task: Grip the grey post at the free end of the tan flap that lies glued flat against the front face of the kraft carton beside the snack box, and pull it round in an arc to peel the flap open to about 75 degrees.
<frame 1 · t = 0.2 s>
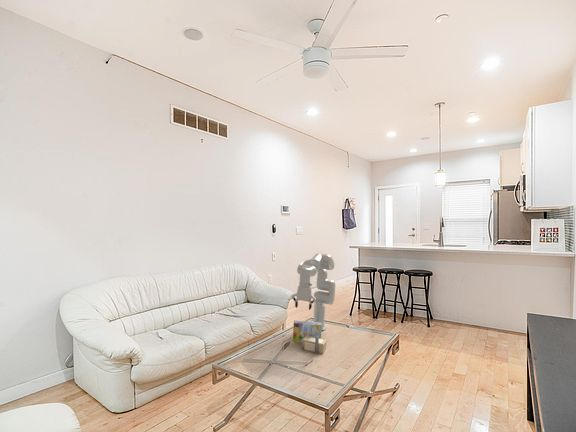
hand: (303, 308, 227), 31 cm above the table, fingers open, 9 cm apart
carton: (314, 348, 232), on the table
snack box: (306, 342, 242), on the table
flap: (310, 342, 227), point 6 cm above the table, hinge at 0.0°
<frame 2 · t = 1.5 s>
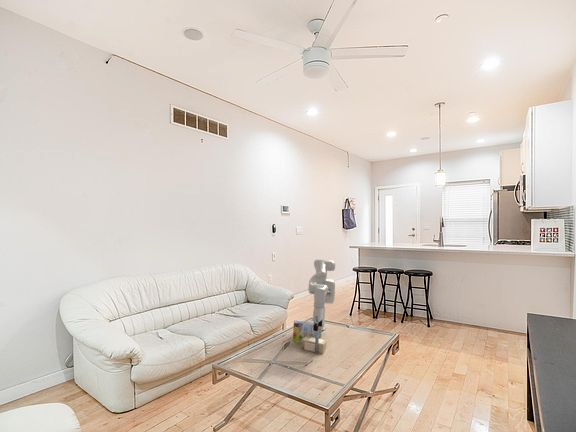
hand: (317, 328, 224), 18 cm above the table, fingers open, 9 cm apart
nothing on the table moved.
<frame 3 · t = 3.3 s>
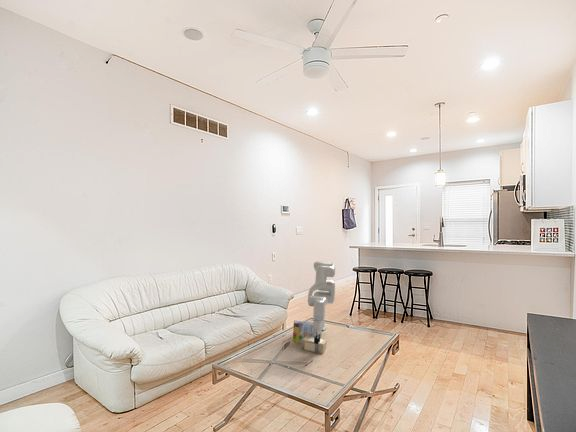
hand: (316, 342, 224), 8 cm above the table, fingers closed on flap, 2 cm apart
flap: (310, 342, 227), point 6 cm above the table, hinge at 0.0°, touching gripper
everything else where it was.
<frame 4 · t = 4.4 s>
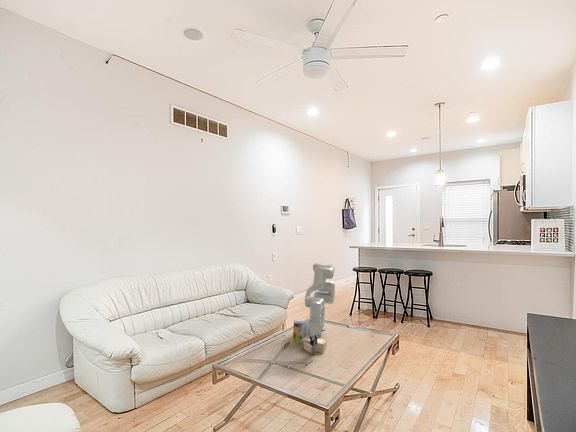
hand: (313, 344, 221), 8 cm above the table, fingers closed on flap, 2 cm apart
flap: (308, 343, 225), point 6 cm above the table, hinge at 22.3°, touching gripper
everything else where it was.
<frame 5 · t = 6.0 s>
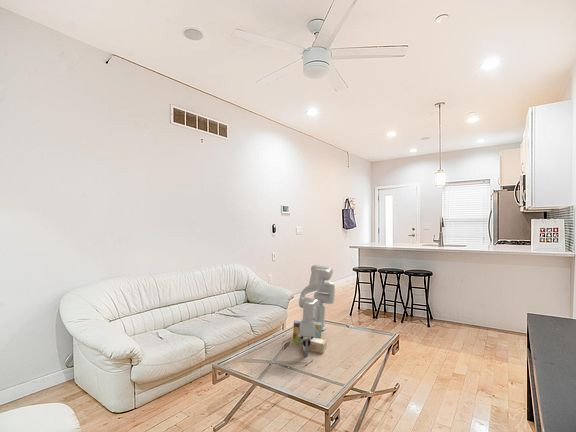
hand: (306, 345, 219), 8 cm above the table, fingers closed on flap, 2 cm apart
flap: (304, 344, 224), point 6 cm above the table, hinge at 53.2°, touching gripper
everything else where it was.
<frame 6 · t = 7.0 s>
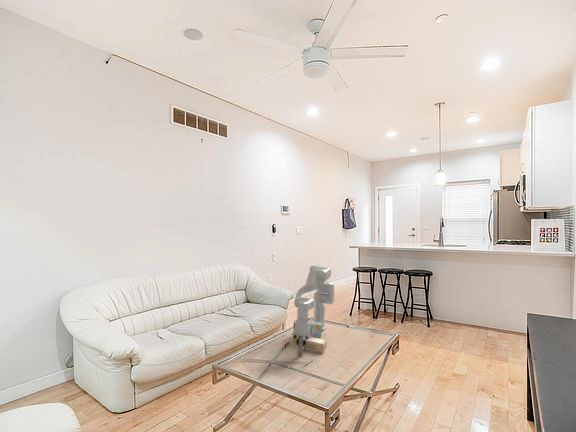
hand: (300, 344, 219), 8 cm above the table, fingers open, 3 cm apart
flap: (301, 344, 224), point 6 cm above the table, hinge at 72.6°
everything else where it was.
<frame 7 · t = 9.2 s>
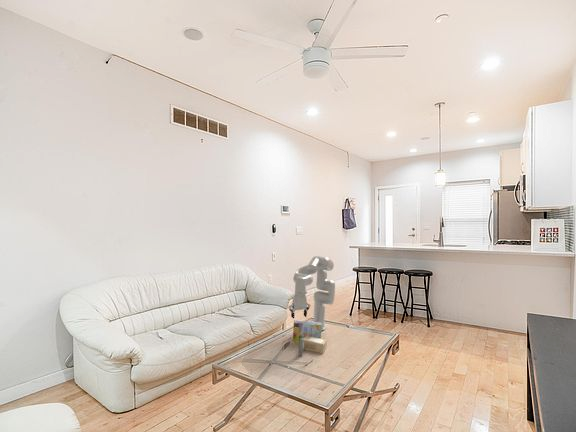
hand: (299, 317, 228), 24 cm above the table, fingers open, 9 cm apart
nothing on the table moved.
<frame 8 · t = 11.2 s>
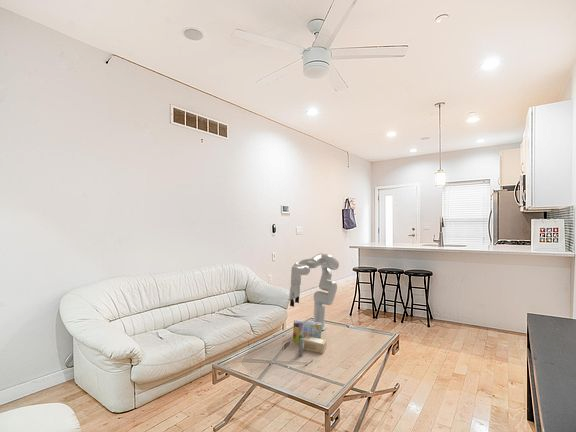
hand: (294, 304, 241), 28 cm above the table, fingers open, 9 cm apart
nothing on the table moved.
at the end: flap at +73° (first picture: +0°); the gripper is holding nothing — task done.
